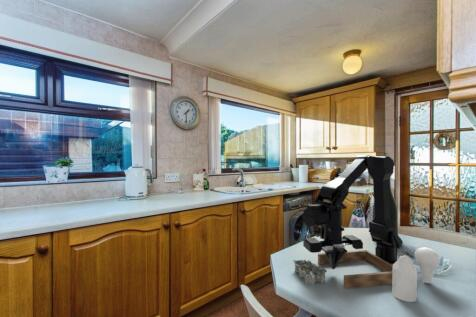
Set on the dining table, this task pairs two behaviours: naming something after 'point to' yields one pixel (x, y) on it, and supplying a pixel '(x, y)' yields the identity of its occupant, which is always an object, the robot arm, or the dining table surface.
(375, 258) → the open wooden frame
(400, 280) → the roll
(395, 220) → the beer bottle
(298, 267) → the egg carton
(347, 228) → the dining table surface
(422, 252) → the lightbulb
